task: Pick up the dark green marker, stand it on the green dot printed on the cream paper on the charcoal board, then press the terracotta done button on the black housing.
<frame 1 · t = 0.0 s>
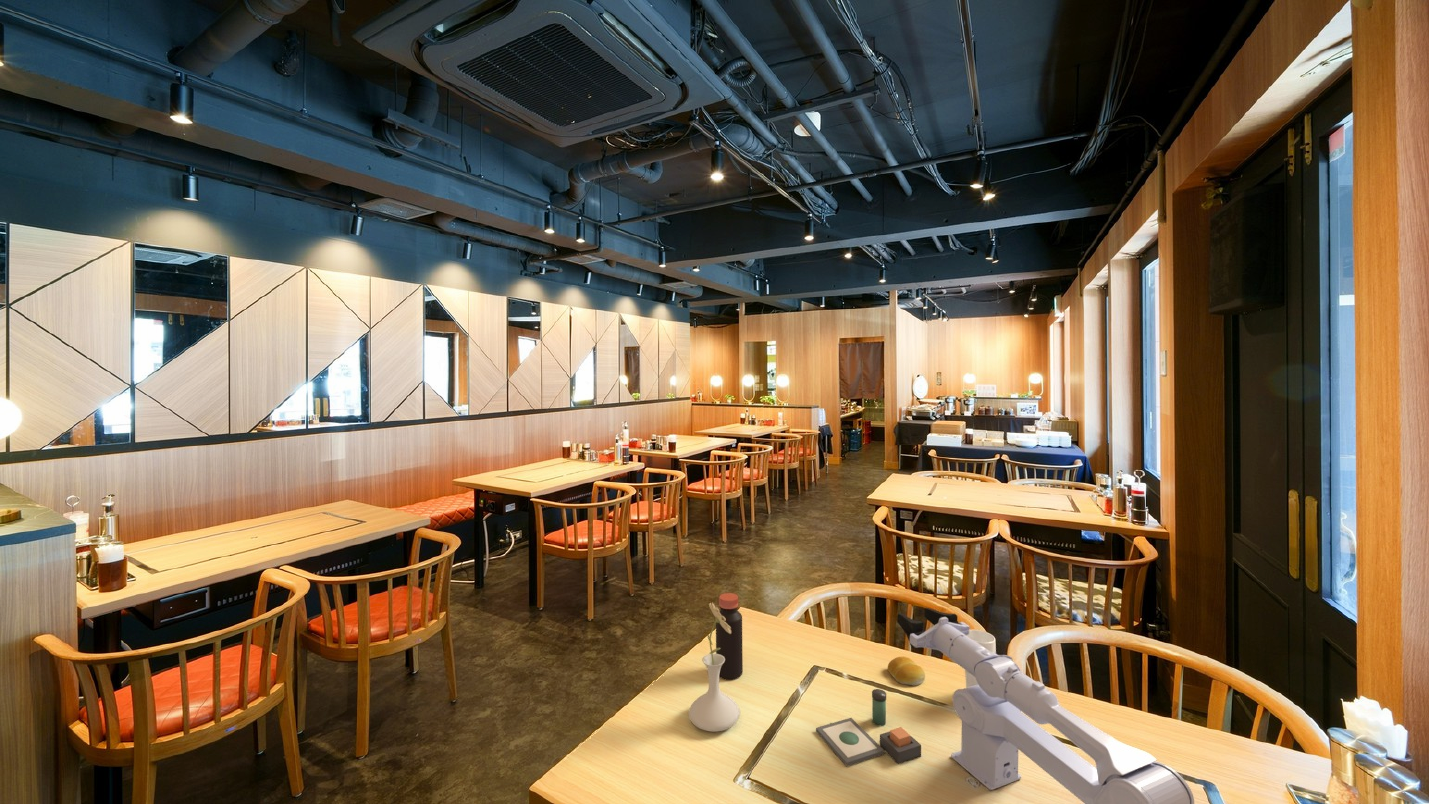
hand: (912, 614, 119), 22 cm above the table, tool horizontal, fingers open, 7 cm apart
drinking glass: (978, 699, 123), on the table
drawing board: (849, 742, 108), on the table
marker: (879, 721, 115), on the table
done button: (900, 737, 106), point 3 cm above the table, slide at 0.0 cm
bottle: (729, 674, 134), on the table
flower in vase: (714, 718, 117), on the table
bread roll: (906, 677, 133), on the table
button housing: (900, 751, 106), on the table
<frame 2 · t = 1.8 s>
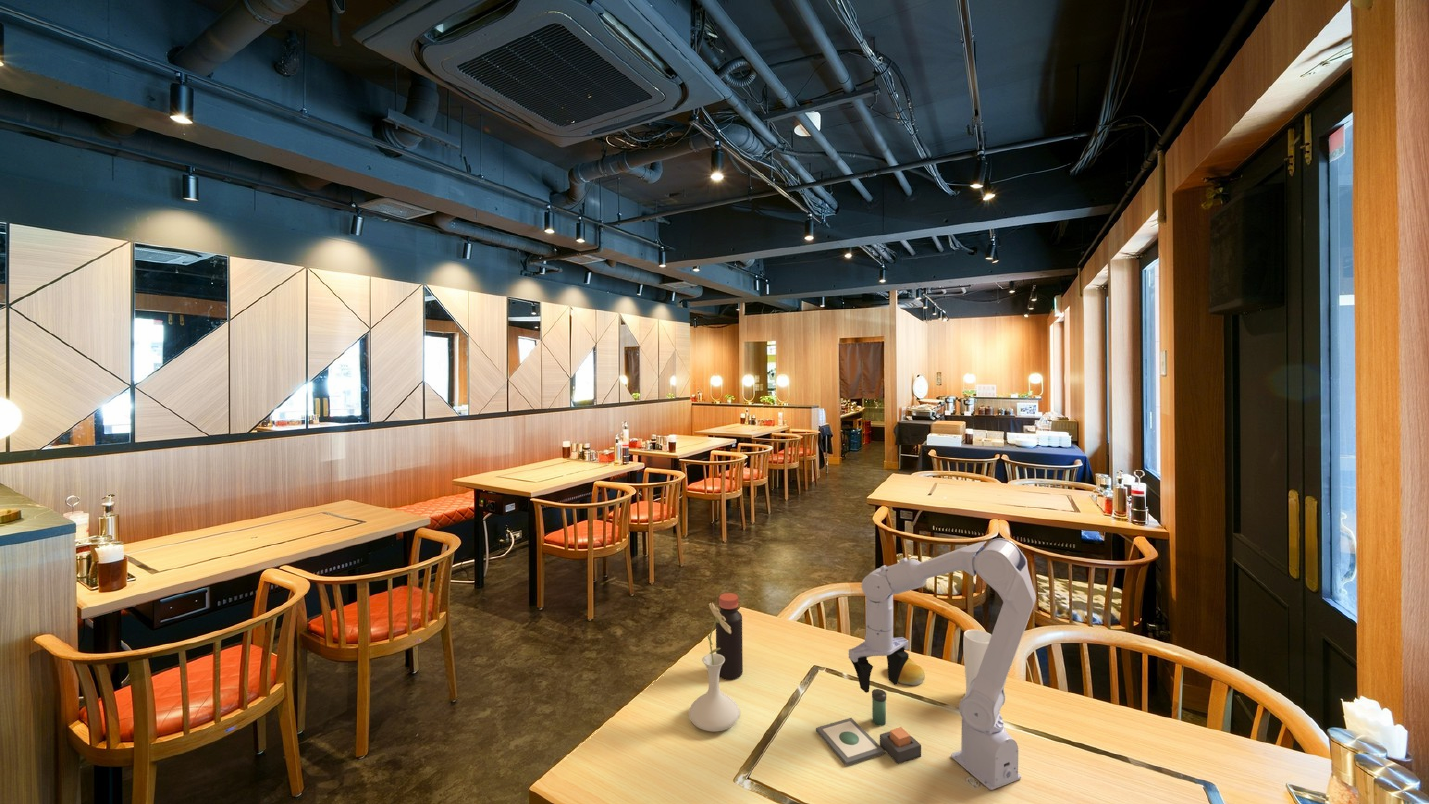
hand: (878, 686, 115), 8 cm above the table, tool pointing down, fingers open, 7 cm apart
nothing on the table moved.
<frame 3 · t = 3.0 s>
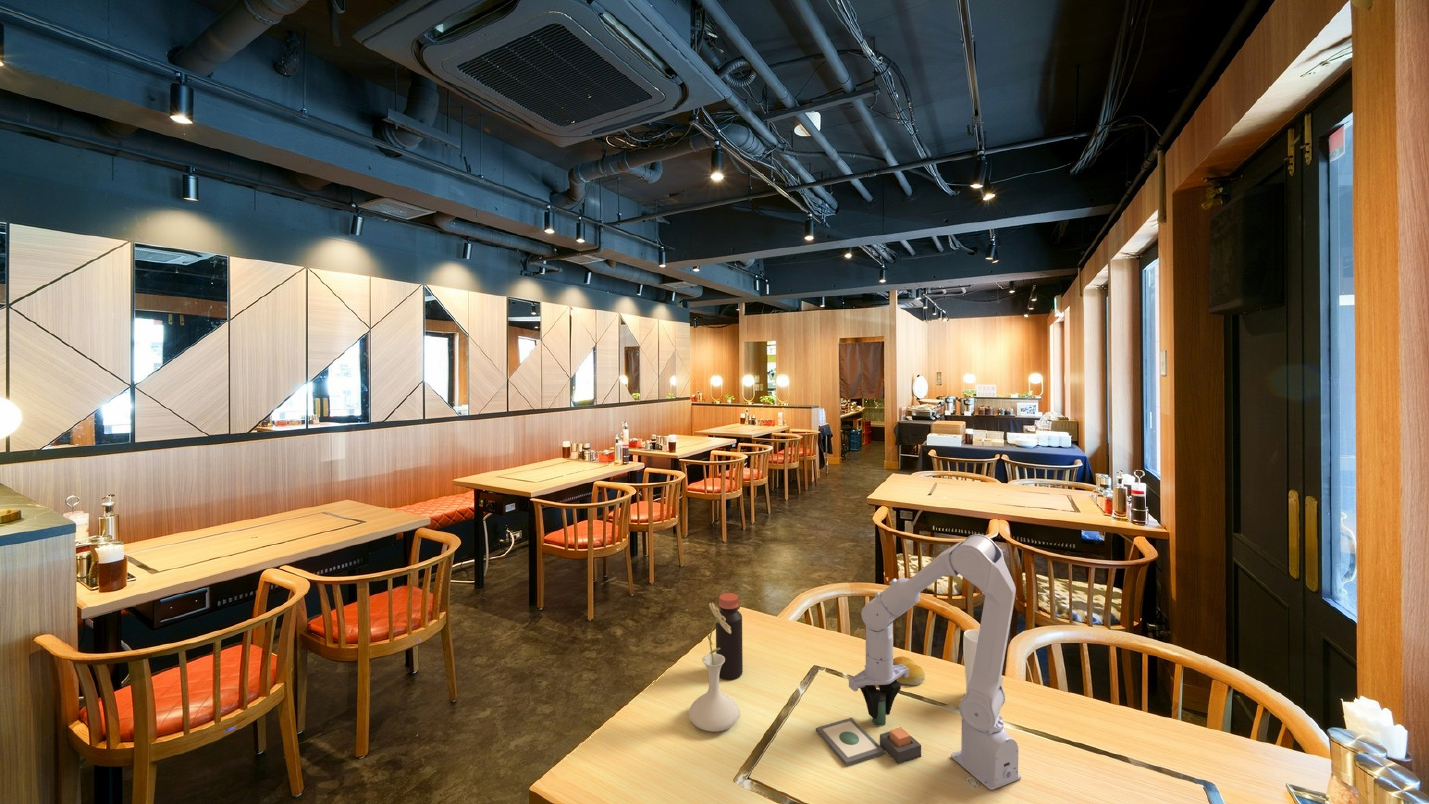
hand: (879, 714, 115), 2 cm above the table, tool pointing down, fingers closed on marker, 3 cm apart
marker: (879, 721, 115), on the table, touching gripper
everything else where it was.
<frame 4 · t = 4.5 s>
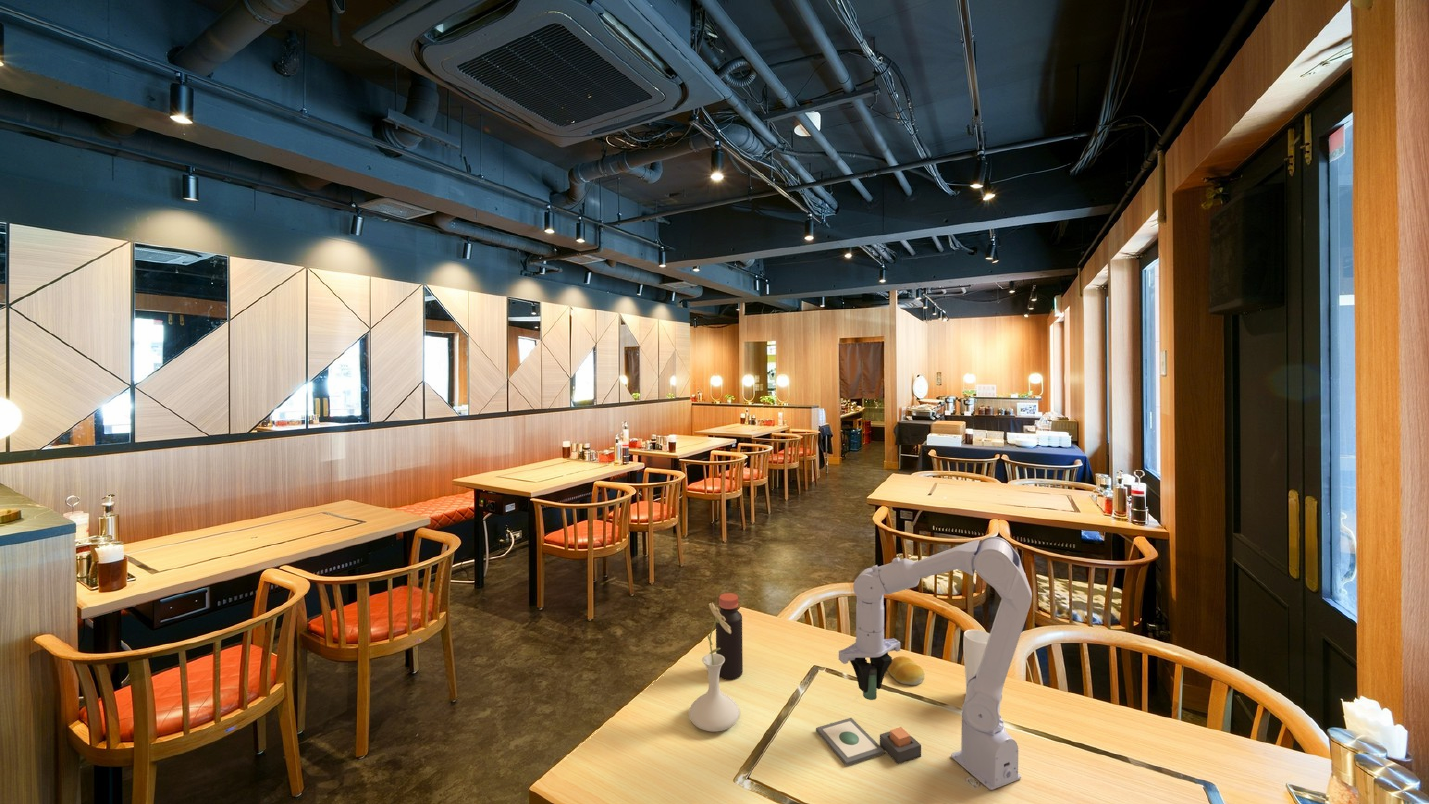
hand: (869, 688, 113), 9 cm above the table, tool pointing down, fingers closed on marker, 3 cm apart
marker: (869, 696, 113), point 7 cm above the table, touching gripper
everything else where it was.
when the fingers open (4 cm above the table, at t = 6.2 s): marker stays where it is, resting on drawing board.
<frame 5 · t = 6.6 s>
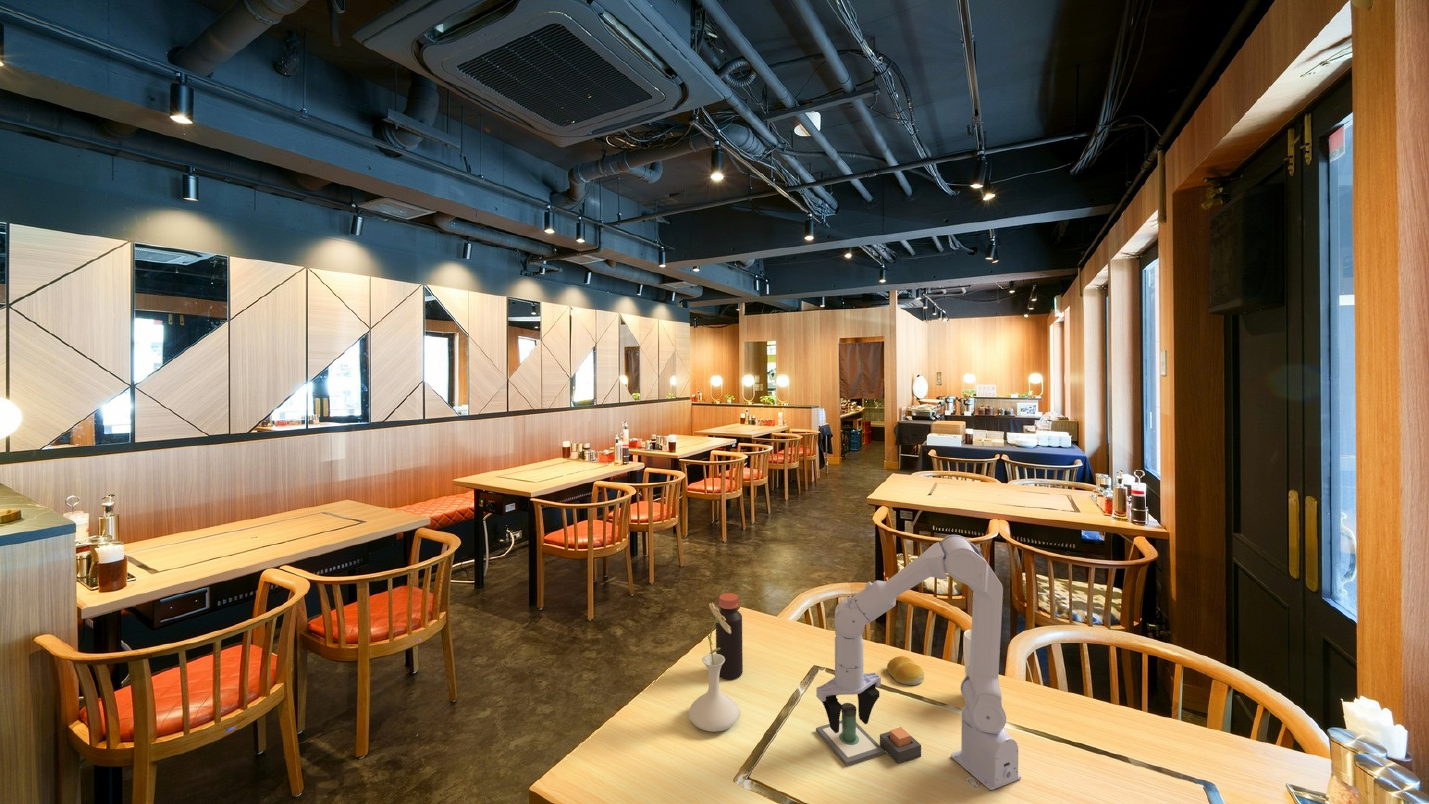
hand: (849, 725, 108), 4 cm above the table, tool pointing down, fingers open, 7 cm apart
marker: (848, 737, 108), point 1 cm above the table, touching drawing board
everything else where it was.
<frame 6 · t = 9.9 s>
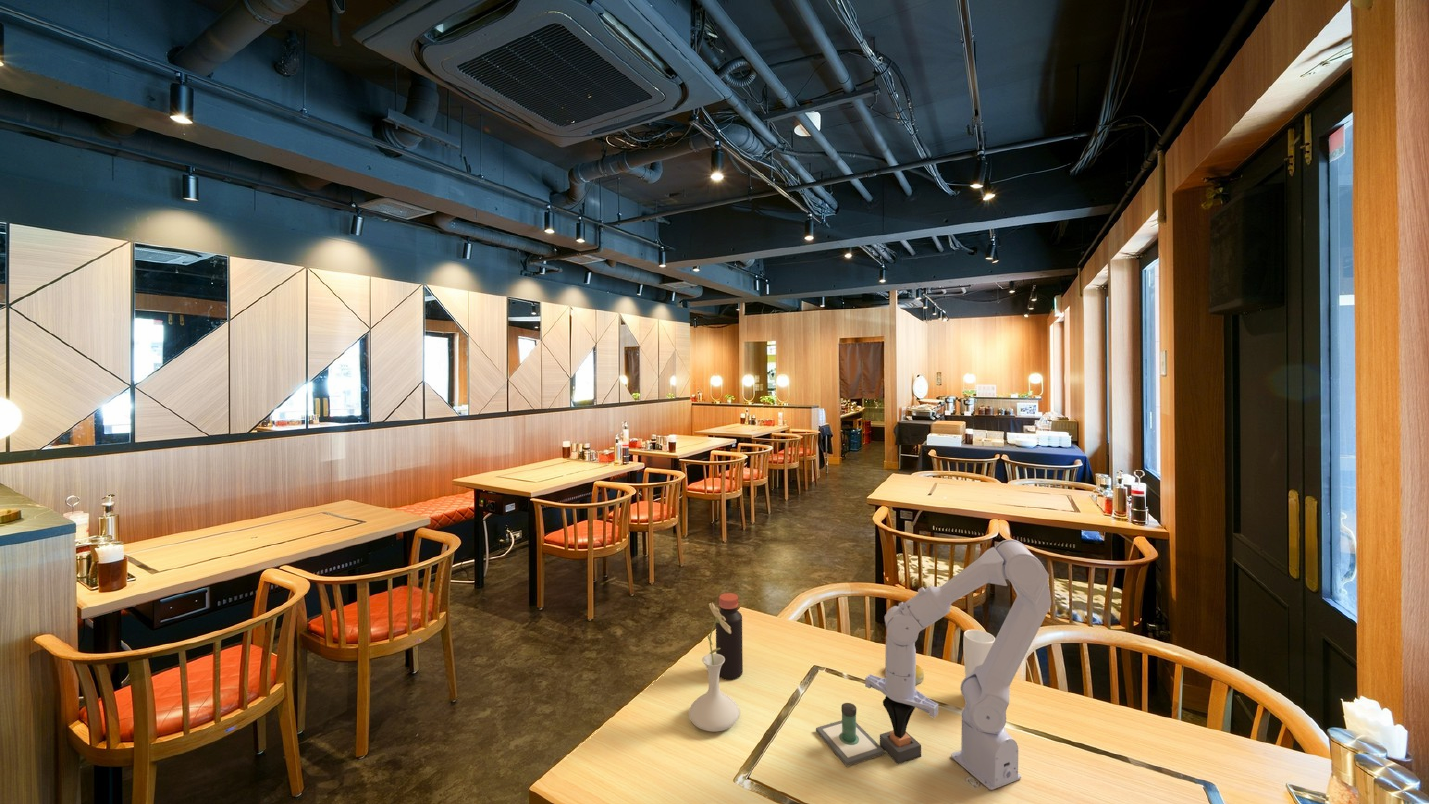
hand: (899, 734, 106), 3 cm above the table, tool pointing down, fingers closed, pressing on done button
done button: (900, 738, 106), point 3 cm above the table, slide at 0.3 cm, touching gripper
everything else where it was.
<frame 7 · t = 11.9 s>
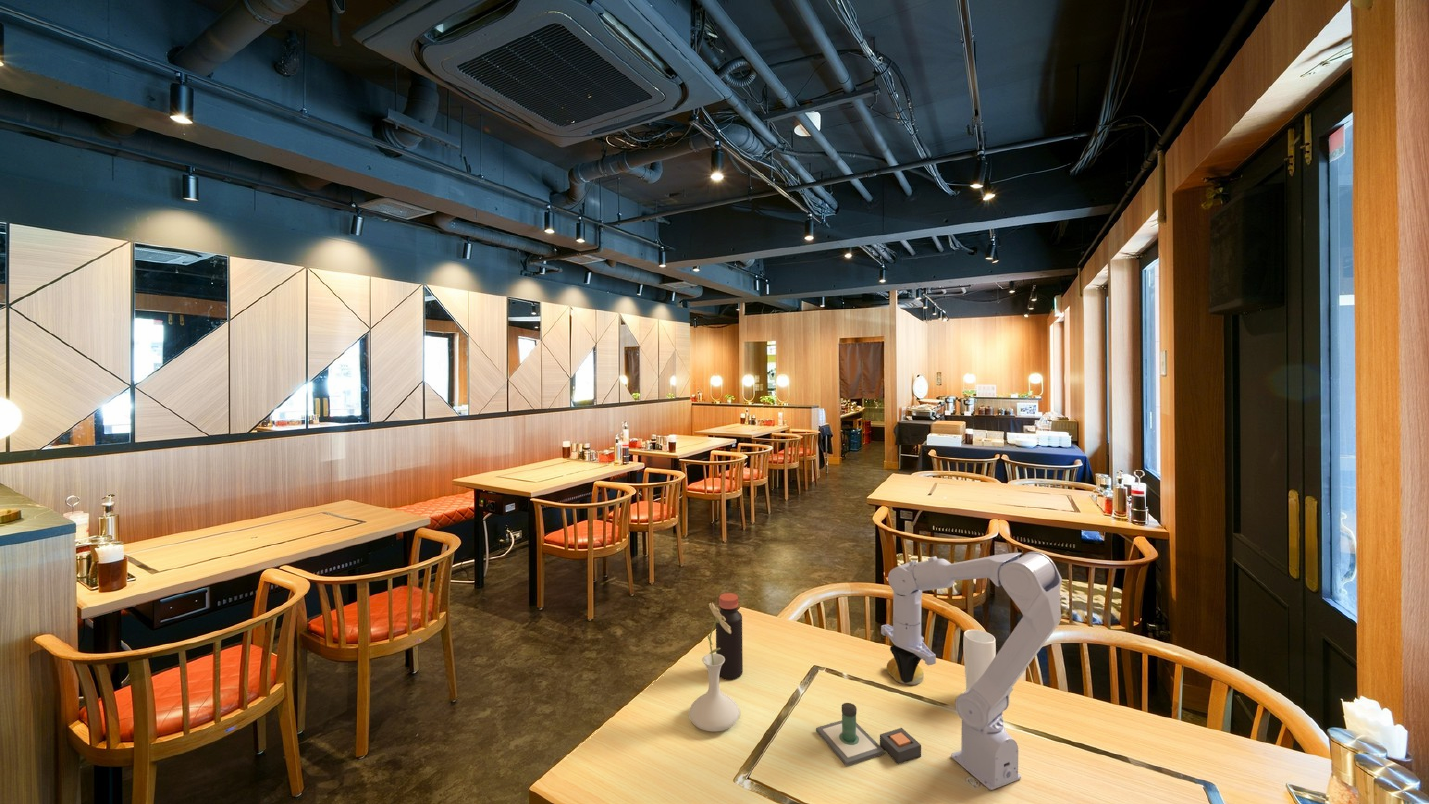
hand: (906, 680, 114), 9 cm above the table, tool pointing down, fingers closed
done button: (900, 742, 106), point 2 cm above the table, slide at 1.1 cm
everything else where it was.
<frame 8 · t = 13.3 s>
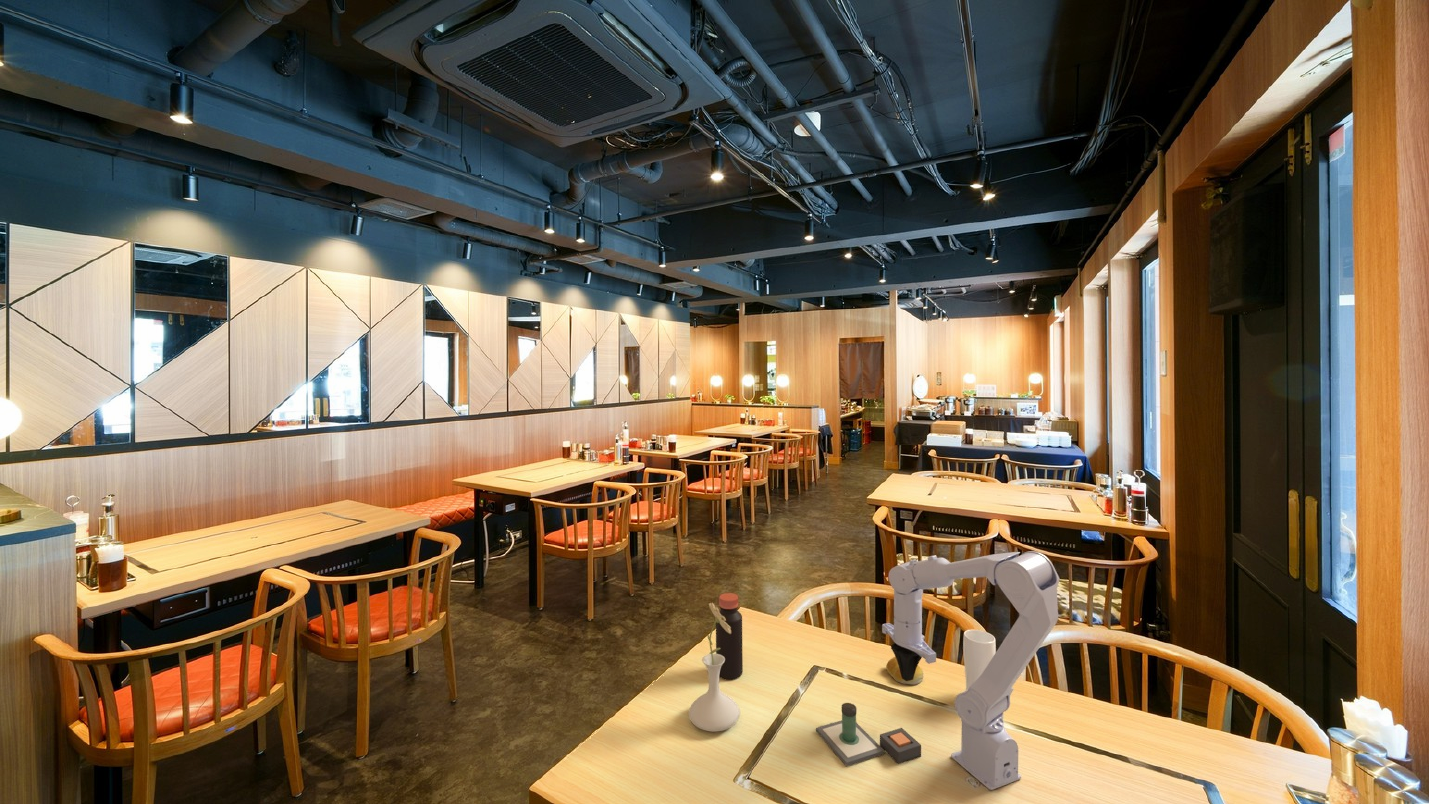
hand: (907, 678, 115), 9 cm above the table, tool pointing down, fingers closed
nothing on the table moved.
at the end: marker 0.1 cm off-centre on the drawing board, point 0.9 cm above the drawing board's base; marker tilted 0°; done button slide at 1.1 cm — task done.
